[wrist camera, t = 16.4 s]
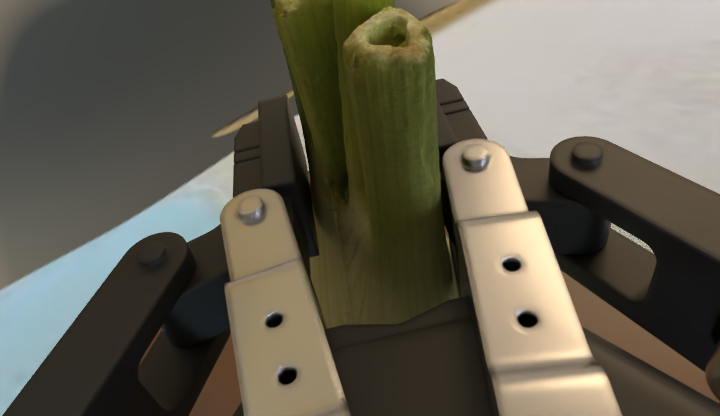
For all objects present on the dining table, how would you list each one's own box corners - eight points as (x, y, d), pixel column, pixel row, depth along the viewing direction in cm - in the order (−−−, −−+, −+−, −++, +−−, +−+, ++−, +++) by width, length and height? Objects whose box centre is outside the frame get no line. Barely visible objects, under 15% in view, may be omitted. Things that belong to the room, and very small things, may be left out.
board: (311, 191, 27) (303, 169, 26) (804, 355, 17) (824, 329, 16) (103, 415, 20) (82, 395, 19) (744, 909, 10) (773, 925, 9)
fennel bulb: (337, 295, 19) (235, -63, 11) (477, 286, 19) (474, -101, 11) (323, 461, 15) (142, 74, 7) (503, 457, 14) (531, 26, 6)
